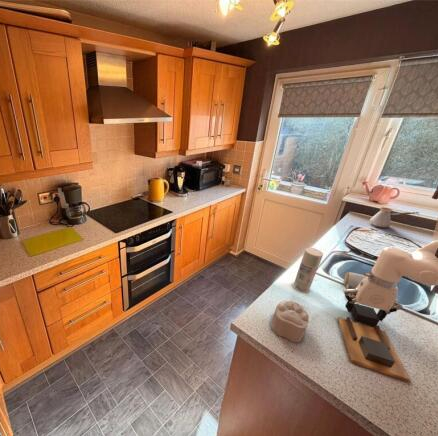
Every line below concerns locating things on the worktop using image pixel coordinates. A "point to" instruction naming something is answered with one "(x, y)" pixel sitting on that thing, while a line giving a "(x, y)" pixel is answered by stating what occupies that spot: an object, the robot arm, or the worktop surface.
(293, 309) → the lumpy-topped squat cylinder
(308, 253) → the spray can
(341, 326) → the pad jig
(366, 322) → the dark grey square block
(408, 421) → the worktop surface
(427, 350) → the worktop surface
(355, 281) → the ceramic mug
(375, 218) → the coffee pot
